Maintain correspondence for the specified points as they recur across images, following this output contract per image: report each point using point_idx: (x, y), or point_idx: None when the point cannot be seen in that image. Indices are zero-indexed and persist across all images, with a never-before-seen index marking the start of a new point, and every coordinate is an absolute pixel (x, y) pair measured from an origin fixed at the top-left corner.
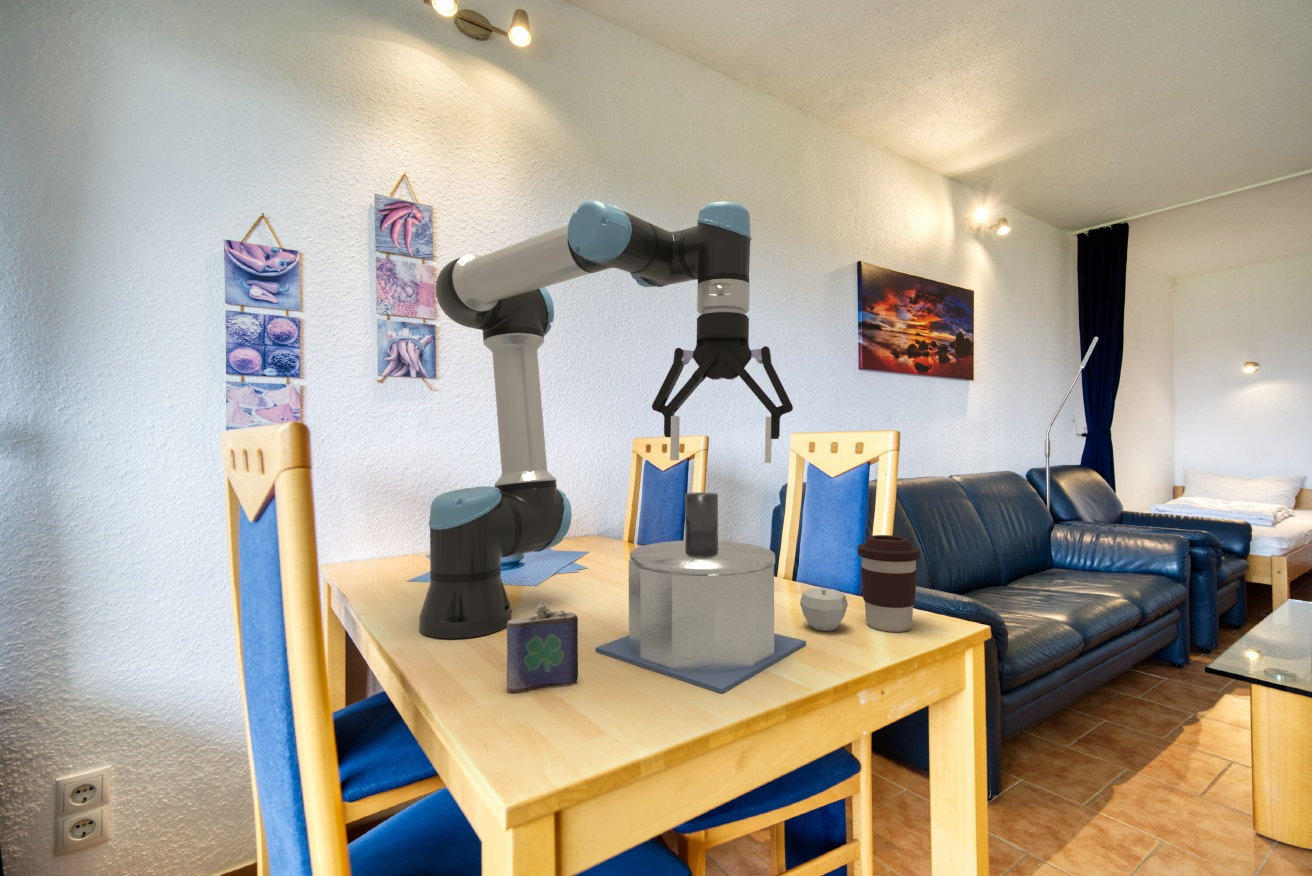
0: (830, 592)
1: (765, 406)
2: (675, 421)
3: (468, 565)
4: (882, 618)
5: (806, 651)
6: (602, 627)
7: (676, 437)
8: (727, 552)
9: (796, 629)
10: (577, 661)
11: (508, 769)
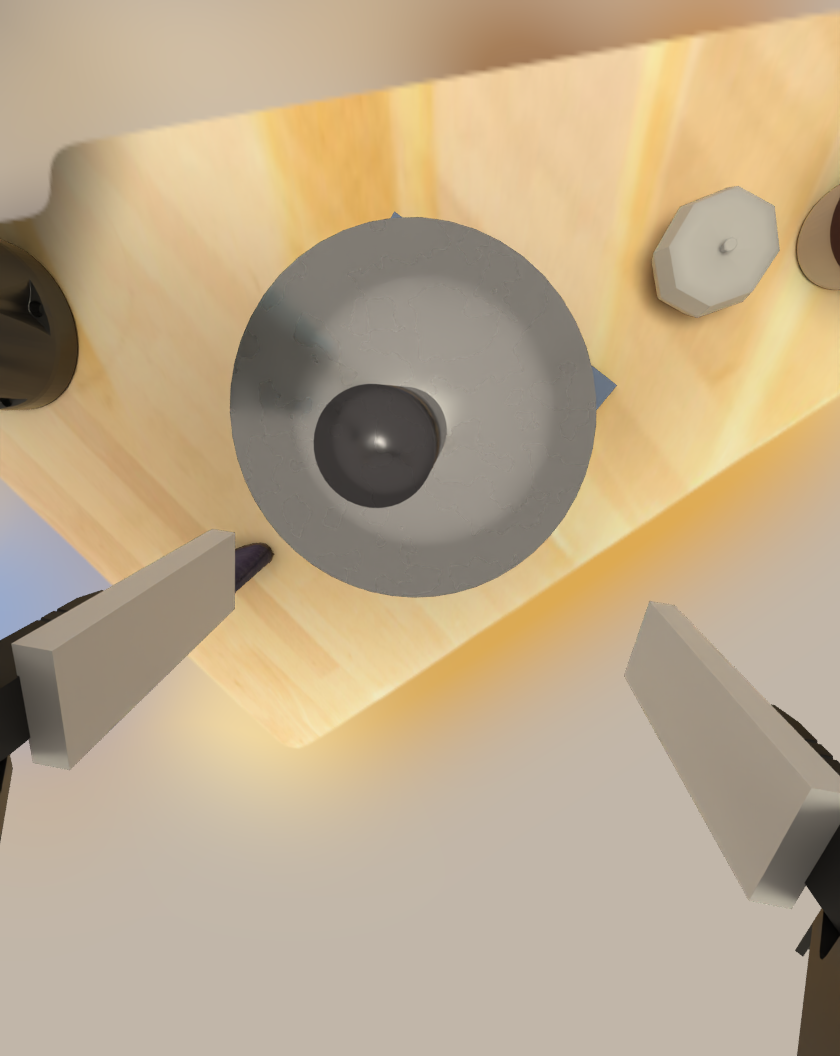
0: (746, 239)
1: (808, 1000)
2: (98, 735)
3: None
4: (830, 278)
5: (605, 418)
6: (239, 316)
7: (171, 652)
8: (471, 423)
9: (621, 288)
10: (261, 562)
11: (274, 717)
